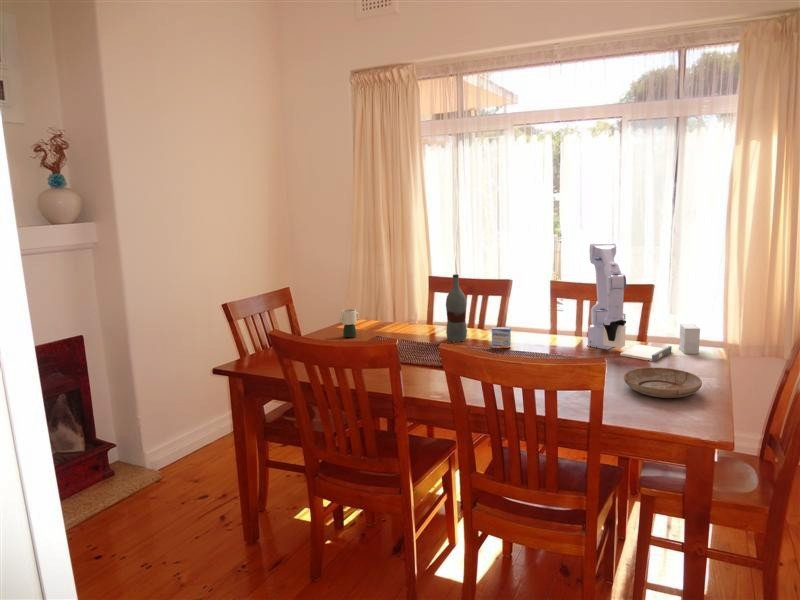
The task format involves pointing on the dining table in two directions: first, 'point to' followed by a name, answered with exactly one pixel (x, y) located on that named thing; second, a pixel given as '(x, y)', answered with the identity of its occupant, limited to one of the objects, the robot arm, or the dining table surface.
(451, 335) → the bottle
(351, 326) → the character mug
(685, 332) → the small box
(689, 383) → the ceramic bowl
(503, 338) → the medicine box
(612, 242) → the robot arm
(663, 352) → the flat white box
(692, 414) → the dining table surface
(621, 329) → the carton
